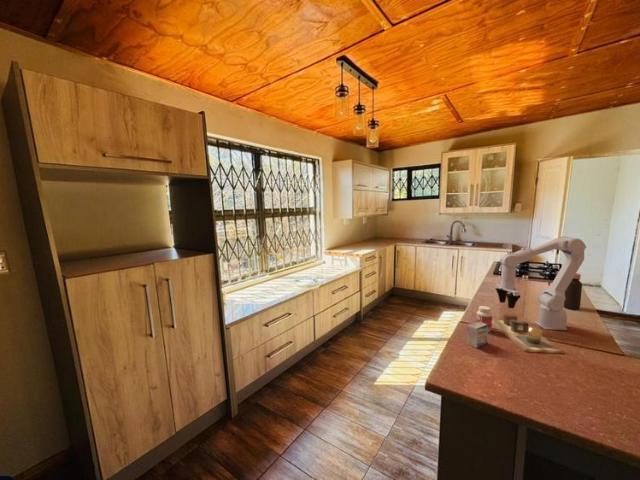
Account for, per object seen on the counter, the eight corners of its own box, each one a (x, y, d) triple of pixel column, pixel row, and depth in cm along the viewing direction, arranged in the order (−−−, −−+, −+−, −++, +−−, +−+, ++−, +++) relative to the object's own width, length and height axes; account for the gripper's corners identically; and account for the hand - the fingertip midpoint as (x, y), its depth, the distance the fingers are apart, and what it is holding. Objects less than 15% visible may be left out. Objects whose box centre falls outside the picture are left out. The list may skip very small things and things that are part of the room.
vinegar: (566, 309, 145) (569, 274, 143) (560, 305, 151) (563, 272, 149) (582, 311, 142) (585, 275, 140) (576, 306, 149) (579, 272, 146)
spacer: (535, 339, 112) (537, 326, 112) (542, 344, 108) (544, 330, 107) (524, 338, 113) (525, 325, 112) (531, 343, 109) (532, 330, 108)
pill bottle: (493, 330, 124) (494, 307, 123) (487, 333, 121) (488, 311, 119) (479, 325, 129) (480, 304, 128) (473, 328, 126) (474, 307, 125)
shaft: (514, 323, 128) (514, 315, 127) (526, 331, 119) (526, 323, 118) (503, 322, 128) (503, 315, 128) (514, 331, 120) (514, 322, 119)
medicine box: (476, 348, 109) (477, 328, 108) (466, 343, 113) (466, 324, 112) (487, 343, 112) (488, 324, 111) (477, 339, 116) (478, 320, 115)
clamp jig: (519, 322, 131) (520, 312, 130) (563, 353, 103) (564, 340, 103) (489, 321, 133) (490, 312, 132) (524, 351, 105) (525, 339, 105)
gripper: (491, 275, 136) (490, 299, 138) (507, 282, 122) (506, 310, 123) (506, 275, 135) (504, 300, 137) (524, 282, 121) (522, 310, 122)
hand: (506, 305), depth 130 cm, fingers open, 7 cm apart
